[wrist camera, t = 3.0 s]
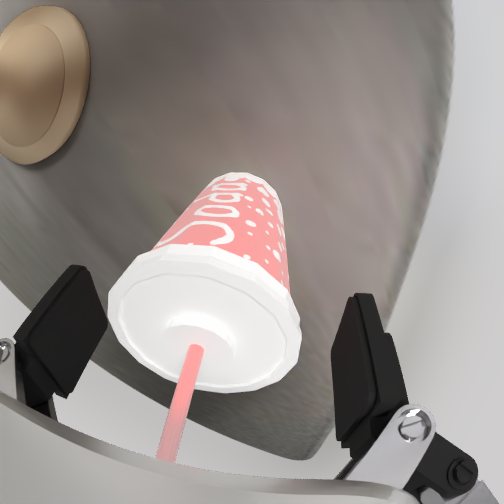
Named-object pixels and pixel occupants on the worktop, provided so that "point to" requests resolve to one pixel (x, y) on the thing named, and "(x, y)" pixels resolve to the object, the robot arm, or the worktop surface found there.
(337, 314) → the worktop surface
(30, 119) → the plate
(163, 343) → the beverage cup
